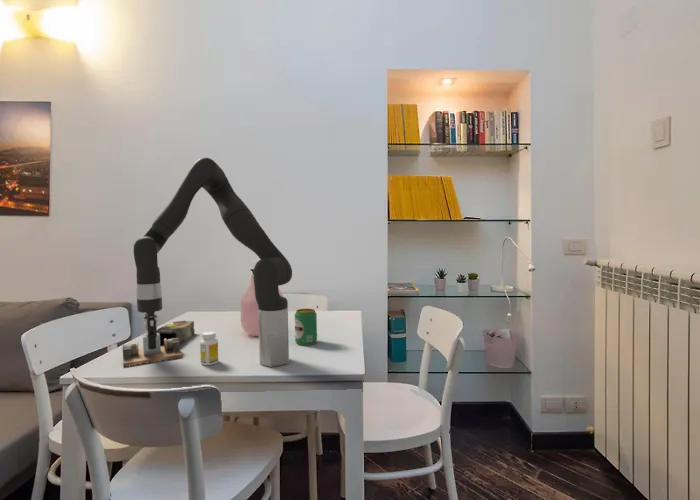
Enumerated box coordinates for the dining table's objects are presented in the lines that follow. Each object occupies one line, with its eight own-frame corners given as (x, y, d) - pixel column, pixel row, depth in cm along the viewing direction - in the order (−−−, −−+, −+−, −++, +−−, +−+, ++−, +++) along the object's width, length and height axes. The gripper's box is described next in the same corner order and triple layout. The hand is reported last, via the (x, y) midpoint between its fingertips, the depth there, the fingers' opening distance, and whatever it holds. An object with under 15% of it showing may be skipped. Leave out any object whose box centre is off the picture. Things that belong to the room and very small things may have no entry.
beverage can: (290, 342, 151) (290, 310, 150) (307, 338, 156) (307, 307, 156) (304, 347, 145) (303, 313, 144) (321, 342, 151) (320, 310, 150)
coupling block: (160, 353, 136) (159, 335, 136) (144, 355, 134) (143, 337, 134) (159, 349, 141) (158, 332, 140) (143, 352, 138) (142, 334, 138)
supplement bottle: (198, 366, 127) (197, 335, 127) (203, 360, 133) (202, 331, 132) (216, 365, 128) (215, 335, 127) (220, 359, 133) (219, 330, 132)
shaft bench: (176, 346, 148) (176, 332, 147) (182, 357, 135) (181, 341, 135) (123, 354, 139) (122, 339, 139) (123, 367, 127) (122, 350, 127)
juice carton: (171, 333, 167) (171, 318, 166) (196, 333, 167) (195, 318, 167) (149, 349, 147) (148, 332, 146) (177, 349, 147) (176, 332, 147)
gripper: (163, 298, 132) (166, 350, 133) (159, 292, 144) (162, 340, 145) (137, 301, 128) (140, 354, 129) (135, 294, 140) (138, 343, 142)
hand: (151, 346), depth 137 cm, fingers open, 5 cm apart
